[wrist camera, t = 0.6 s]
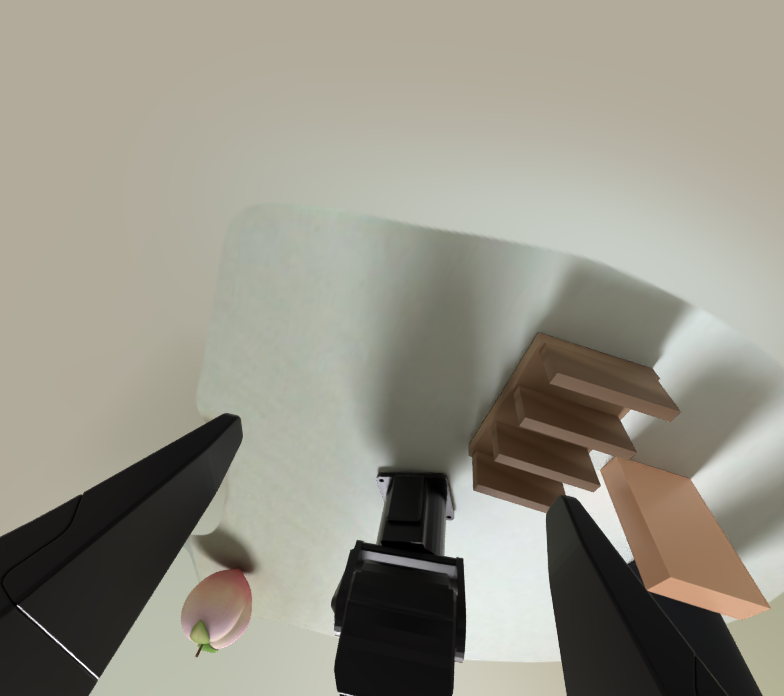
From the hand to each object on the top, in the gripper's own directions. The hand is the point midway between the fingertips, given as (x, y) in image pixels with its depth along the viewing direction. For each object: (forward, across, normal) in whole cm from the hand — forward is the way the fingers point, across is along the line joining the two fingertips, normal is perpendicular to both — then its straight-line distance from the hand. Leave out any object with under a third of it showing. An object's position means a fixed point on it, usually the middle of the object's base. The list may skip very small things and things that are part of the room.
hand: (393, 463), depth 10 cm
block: (+14, -20, +12) cm, 27 cm away
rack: (+14, -10, +8) cm, 19 cm away
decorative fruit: (+15, +18, +50) cm, 55 cm away
